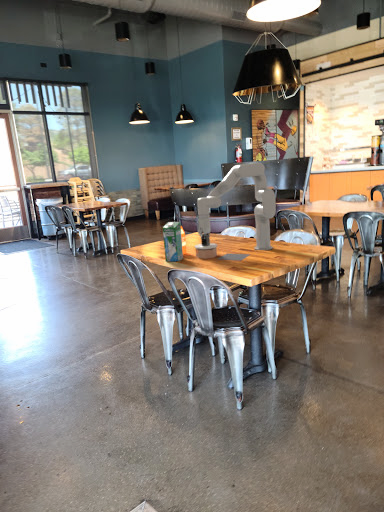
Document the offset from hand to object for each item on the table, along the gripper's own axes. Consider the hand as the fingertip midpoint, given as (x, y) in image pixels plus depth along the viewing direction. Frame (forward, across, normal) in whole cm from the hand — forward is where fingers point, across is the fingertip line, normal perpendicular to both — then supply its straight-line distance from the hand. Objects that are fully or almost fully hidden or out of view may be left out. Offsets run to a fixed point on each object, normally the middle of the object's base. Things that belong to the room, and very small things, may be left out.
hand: (205, 243), depth 256 cm
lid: (+2, 0, 0) cm, 2 cm away
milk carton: (+9, +12, -18) cm, 24 cm away
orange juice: (+10, -5, -25) cm, 27 cm away
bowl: (+9, 0, 0) cm, 9 cm away
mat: (+9, -2, +19) cm, 21 cm away
